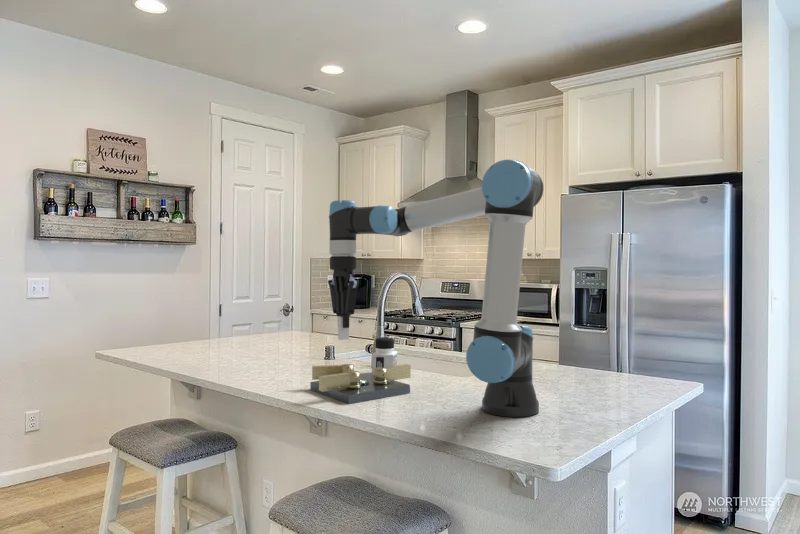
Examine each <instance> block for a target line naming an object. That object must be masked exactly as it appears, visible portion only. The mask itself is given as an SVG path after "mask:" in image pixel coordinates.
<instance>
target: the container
mask: <svg viewBox="0 0 800 534" xmlns="http://www.w3.org/2000/svg"><path fill="white" fill-rule="evenodd" d="M397 365H399V363H398V351H397V350H395V339H394V338H393V337H391V336H381V337H376V338H375V352H373V353H371V374H372V375H374V368H378V367H390V366H397Z"/></svg>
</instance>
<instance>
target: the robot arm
mask: <svg viewBox="0 0 800 534" xmlns="http://www.w3.org/2000/svg"><path fill="white" fill-rule="evenodd" d="M543 194H544V183H543V179H542V177H541V176H540V174H539V173H538V172H537V171H536V170H535V169H533V168H532V167H530V166H528V165H527V164H525V163H524V162H522V161H519V160H515V159H502V160H499V161H496V162H495V163H493V164H492V165H491V166H490V167H488V168H487V170H486V171H485V173H484V174H483V177H482V180H481V187H477V188H473V189H469V190H465V191H460V192H458V193H454V194H450V195H446V196H442V197H438V198H434V199H430V200H426V201H422V202H418V203H415V204H410V205H407V206H403V207H399V208H393V206H391V205H375V206H357V202H355V200H350V199H346V200H345V199H343V200H341V199H340V200H339V199H338V200H333V201H331V202H330V204H329V214H328V218H329V220H328V221H329V222H328V223H329V252H328V253H329V255H331V256H330V257H329V269H330V270H331V271H333V273H332V278H331V279H328V280H327V285H328V287H329V291H330V299H331V300H330V301H331V307H332V313H333V314H335V315H336V316H337V339H338V340H339V341H344V340H350V316H352V315H354V314H355V309H356V304H357V303H356V301H357V293H358V289H359V288H358V287H359V286H360V281H359V280H356V279H355V275H354V270H356V269H357V256H355V255H357V235H385V236H393V237H404V236H406V235H408V234H410V233H412V232H416V231H421V230H425V229H429V228H432V227H437V226H442V225H447V224H451V223H455V222H459V221H465V220H468V219H472V218H477V217H481V216H484V217H486V219H488V221H489V231H488V232H489V233H488V244H487V251H486V253H487V254H486V266H485V275H484V285H483V286H484V287H483V288H484V289H483V297H482V308H481V309H482V310H481V318H480V319H479V320H477V321H476V322H475V323H474V327H473V329H474V330H473V339H472V341H471V342H470V344H469V346H468V347H467V350H466V353H465V354H466V355H465V358H466V365H467V368H468V369H469V371H470V372H471V374H472V375H473V376H474V377H475V378H477V379H478V380H479V381H482V382H484V383H487V384H486V387H485V390H484V391H485V392H484V394H483V397H482V400H481V409H482V411H483V412H485V413H486V414H487V413H488V414H490V415H495V416H500V417H508V418H511V417H512V418H519V417H520V418H521V417H530V416H534V415H537V414H538V413H539V412H540V403H539V400H538V398H537V393H536V390H535V387H534V386H535V385H534V382H533V361H534V360H533V351H534V350H533V347H534V346H533V341H534V336H533V329H532V328H531V327H530V326H529V325H519V323H518V321H517V320H518V319H517V318H518V309H519V298H520V289H521V287H520V286H521V278H522V277H521V275H522V267H523V257H524V256H523V254H524V244H525V233H526V225H528V223H529V222H530V221H531V220H533V215H534V208H535V207H536V206H537V205H538V204H539V203H540V202H541V200H542V197H543Z"/></svg>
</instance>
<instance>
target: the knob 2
mask: <svg viewBox="0 0 800 534" xmlns="http://www.w3.org/2000/svg"><path fill="white" fill-rule="evenodd" d="M411 367H412V366H411V364H407V363H406V364H398V365H397V366H390V367H378V368H374V380H373V383H375V384H386V383H388V381H393V380H394V381H398V380H405V379H409V378H410V379H411V371H412V370H411Z"/></svg>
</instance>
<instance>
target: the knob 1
mask: <svg viewBox="0 0 800 534" xmlns="http://www.w3.org/2000/svg"><path fill="white" fill-rule="evenodd" d="M360 375H361V371H356V370H354V371H349V372H346V373H340V374H333V375H325V376H319V379H318V381H319V391H322V392H323V391H329V390H336V389H342V388H352V389H353V388H360V387H361V384H360Z"/></svg>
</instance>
